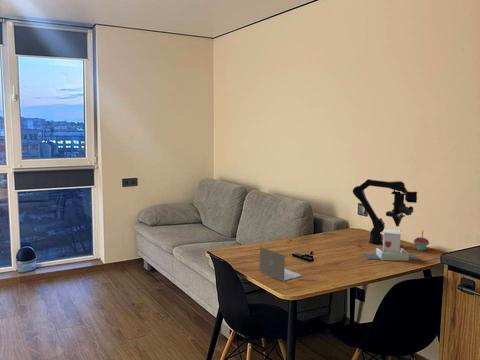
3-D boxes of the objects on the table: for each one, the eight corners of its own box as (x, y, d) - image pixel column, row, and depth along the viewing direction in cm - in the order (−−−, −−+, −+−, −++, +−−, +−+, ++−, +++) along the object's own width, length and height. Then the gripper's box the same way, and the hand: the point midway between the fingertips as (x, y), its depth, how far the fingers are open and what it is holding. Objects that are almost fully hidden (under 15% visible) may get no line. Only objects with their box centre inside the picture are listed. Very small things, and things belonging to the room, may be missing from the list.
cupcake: (415, 246, 269) (416, 227, 268) (429, 248, 265) (431, 229, 263) (411, 249, 262) (413, 230, 261) (426, 252, 257) (428, 232, 256)
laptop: (302, 276, 212) (303, 250, 211) (283, 282, 204) (284, 255, 203) (277, 267, 226) (278, 242, 225) (259, 271, 219) (259, 246, 217)
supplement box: (382, 258, 244) (383, 232, 242) (382, 254, 252) (383, 228, 250) (399, 260, 240) (400, 233, 239) (399, 255, 249) (400, 230, 247)
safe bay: (363, 254, 250) (364, 247, 250) (414, 255, 250) (414, 248, 249) (368, 259, 240) (369, 252, 240) (421, 260, 240) (421, 253, 239)
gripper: (402, 205, 256) (401, 230, 258) (419, 202, 268) (417, 226, 270) (385, 202, 265) (384, 227, 267) (402, 199, 277) (401, 223, 278)
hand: (397, 226), depth 270 cm, fingers closed
